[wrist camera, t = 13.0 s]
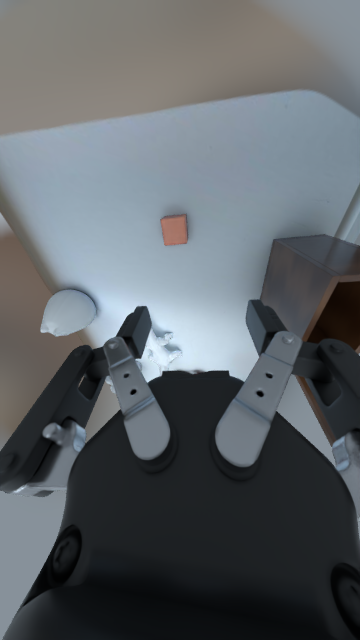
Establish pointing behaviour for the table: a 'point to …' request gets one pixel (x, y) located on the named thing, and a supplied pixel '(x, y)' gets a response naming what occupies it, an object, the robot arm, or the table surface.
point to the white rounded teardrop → (68, 313)
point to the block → (174, 229)
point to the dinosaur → (161, 350)
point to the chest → (315, 288)
